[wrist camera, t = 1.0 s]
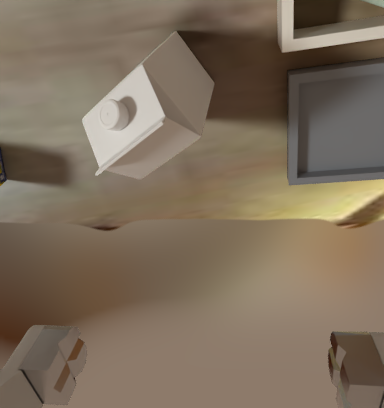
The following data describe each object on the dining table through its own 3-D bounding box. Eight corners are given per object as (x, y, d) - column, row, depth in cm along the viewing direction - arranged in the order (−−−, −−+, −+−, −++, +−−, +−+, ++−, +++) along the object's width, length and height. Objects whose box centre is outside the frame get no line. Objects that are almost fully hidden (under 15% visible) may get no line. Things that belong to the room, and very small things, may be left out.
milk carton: (215, 83, 38) (196, 161, 23) (170, 117, 41) (128, 206, 26) (176, 29, 35) (124, 78, 20) (131, 71, 39) (58, 140, 23)
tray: (287, 70, 36) (289, 75, 35) (428, 51, 34) (437, 55, 32) (287, 177, 44) (289, 185, 43) (401, 169, 41) (407, 177, 40)
